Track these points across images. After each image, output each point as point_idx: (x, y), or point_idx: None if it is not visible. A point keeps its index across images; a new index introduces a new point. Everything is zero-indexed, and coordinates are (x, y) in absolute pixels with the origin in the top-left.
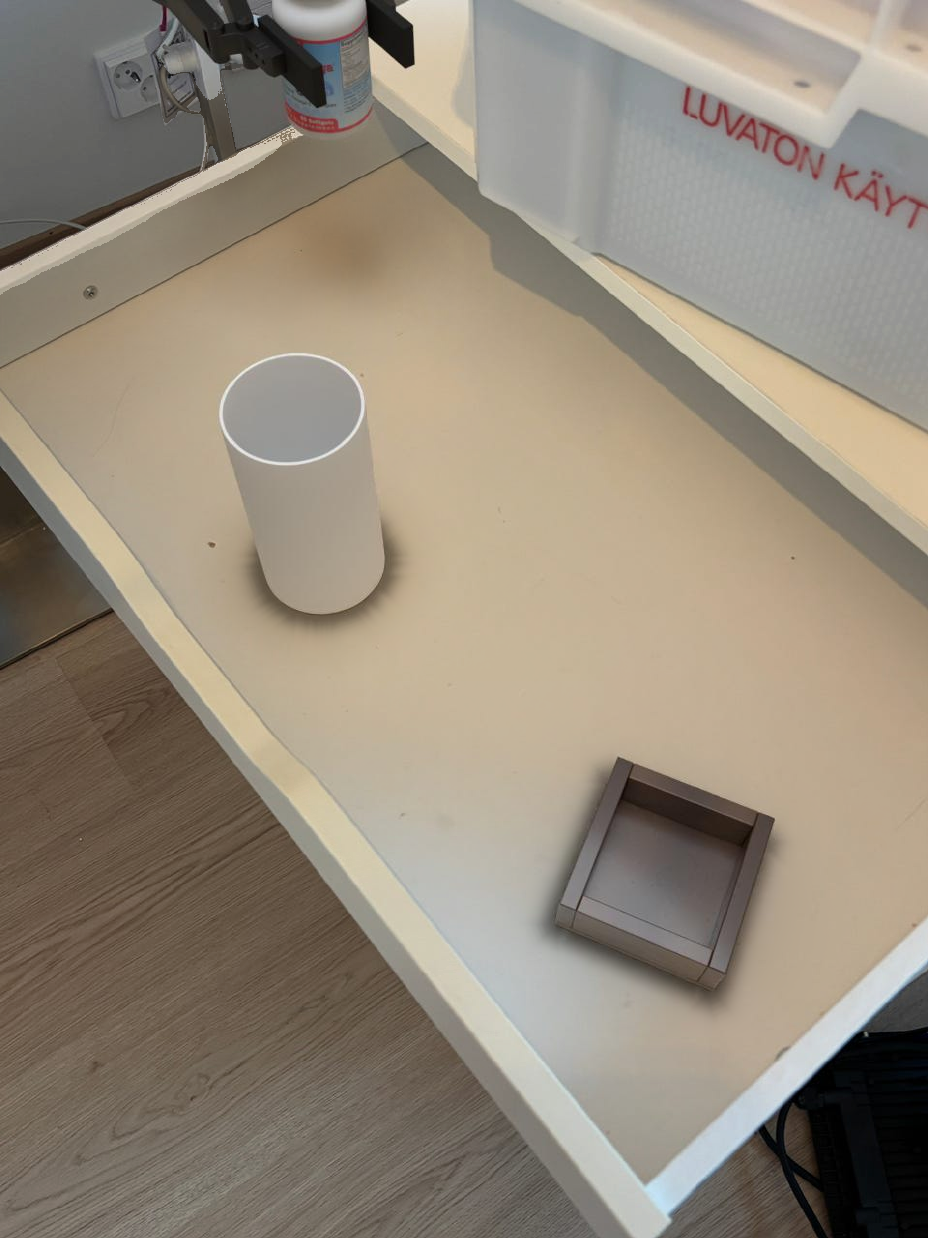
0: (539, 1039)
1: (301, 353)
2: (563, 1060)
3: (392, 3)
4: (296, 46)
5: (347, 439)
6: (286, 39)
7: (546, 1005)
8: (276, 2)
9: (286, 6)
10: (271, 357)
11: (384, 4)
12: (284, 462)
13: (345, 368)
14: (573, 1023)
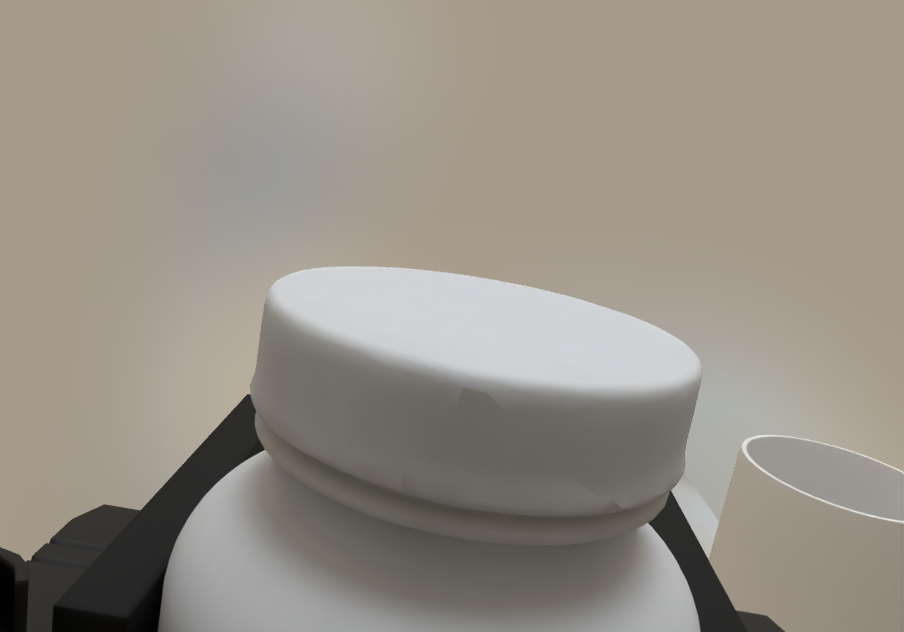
0: (700, 497)
1: (813, 496)
2: (691, 488)
3: (107, 511)
4: (665, 526)
5: (779, 435)
6: (689, 564)
7: (688, 500)
8: (685, 600)
9: (654, 536)
10: (862, 514)
11: (206, 458)
12: (862, 456)
13: (754, 463)
14: (677, 490)
